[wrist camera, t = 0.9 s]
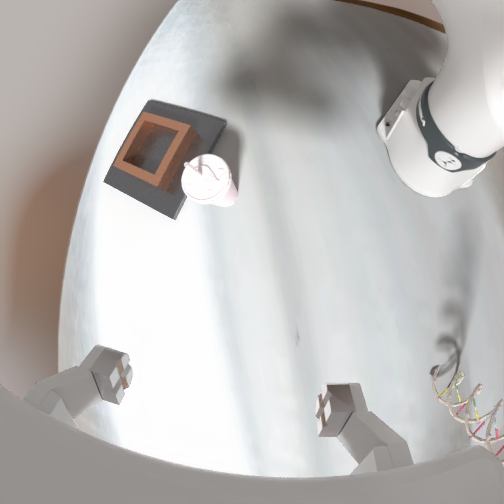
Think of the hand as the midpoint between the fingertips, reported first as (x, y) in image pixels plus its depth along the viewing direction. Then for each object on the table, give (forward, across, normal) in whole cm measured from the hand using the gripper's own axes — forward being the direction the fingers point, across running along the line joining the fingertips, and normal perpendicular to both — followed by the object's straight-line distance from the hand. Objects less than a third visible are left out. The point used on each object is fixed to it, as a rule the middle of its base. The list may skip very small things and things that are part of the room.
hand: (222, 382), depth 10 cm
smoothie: (+35, +5, -1) cm, 35 cm away
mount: (+39, +18, -7) cm, 44 cm away
